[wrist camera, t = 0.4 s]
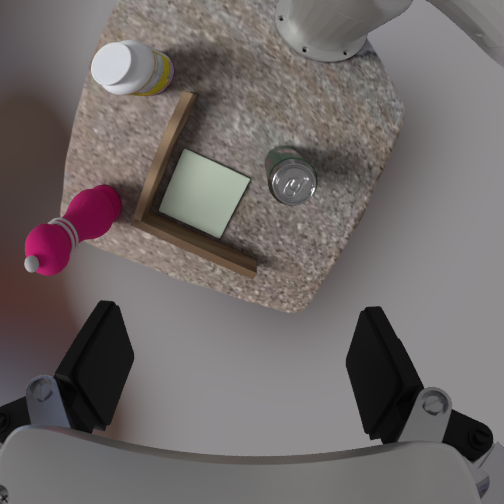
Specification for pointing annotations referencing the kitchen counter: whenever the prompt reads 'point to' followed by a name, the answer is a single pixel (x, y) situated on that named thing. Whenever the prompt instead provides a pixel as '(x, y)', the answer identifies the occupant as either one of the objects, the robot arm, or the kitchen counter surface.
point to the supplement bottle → (132, 68)
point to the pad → (203, 193)
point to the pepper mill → (71, 230)
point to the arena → (171, 229)
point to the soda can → (290, 176)
